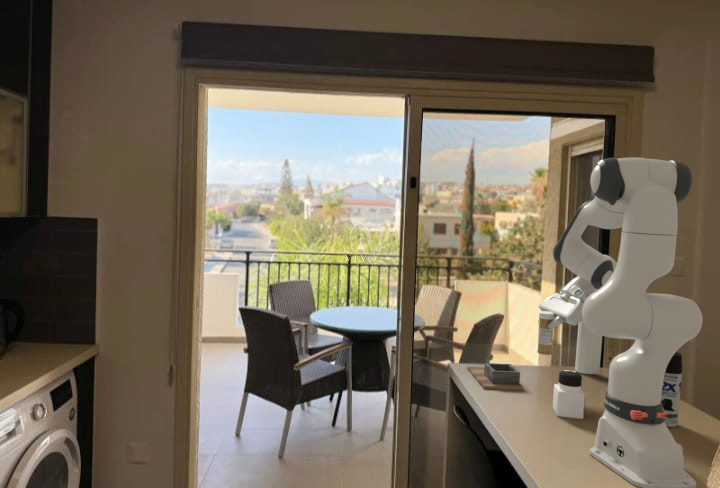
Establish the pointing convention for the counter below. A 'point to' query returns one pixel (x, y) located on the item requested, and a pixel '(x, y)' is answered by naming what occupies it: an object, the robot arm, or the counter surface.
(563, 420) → the counter surface
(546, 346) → the sprinkles bottle
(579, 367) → the paper towel roll
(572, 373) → the medicine bottle
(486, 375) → the socket block
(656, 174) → the robot arm
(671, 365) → the spray can
